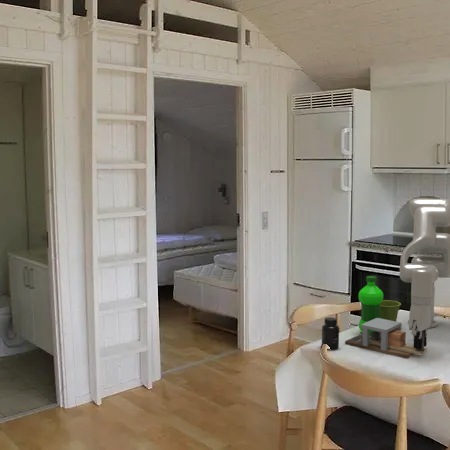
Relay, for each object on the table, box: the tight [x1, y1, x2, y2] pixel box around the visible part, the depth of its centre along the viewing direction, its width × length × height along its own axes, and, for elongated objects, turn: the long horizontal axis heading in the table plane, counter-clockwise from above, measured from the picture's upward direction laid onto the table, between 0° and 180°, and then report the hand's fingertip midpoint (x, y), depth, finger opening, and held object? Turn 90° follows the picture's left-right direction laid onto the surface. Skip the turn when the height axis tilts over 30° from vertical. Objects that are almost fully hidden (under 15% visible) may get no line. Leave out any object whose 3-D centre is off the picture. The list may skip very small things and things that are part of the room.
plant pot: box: [380, 299, 402, 322], centre depth 266 cm, size 12×12×11 cm
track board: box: [344, 334, 415, 360], centre depth 240 cm, size 12×27×1 cm, turn 48°
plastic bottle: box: [358, 275, 385, 337], centre depth 256 cm, size 10×10×25 cm
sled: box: [369, 330, 428, 356], centre depth 235 cm, size 6×22×8 cm, turn 48°
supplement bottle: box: [321, 316, 340, 351], centre depth 239 cm, size 7×7×12 cm
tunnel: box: [361, 318, 403, 351], centre depth 239 cm, size 13×11×8 cm
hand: (419, 346), depth 229 cm, fingers closed on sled, 3 cm apart
